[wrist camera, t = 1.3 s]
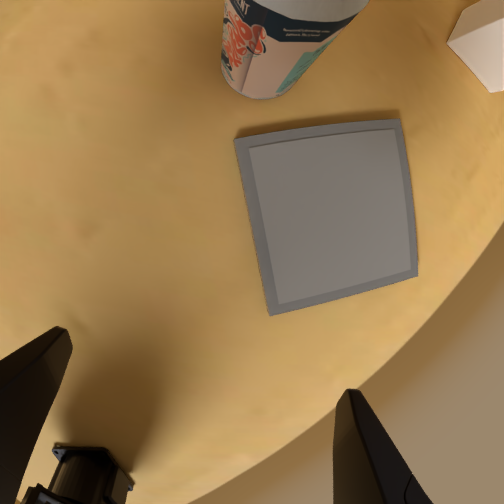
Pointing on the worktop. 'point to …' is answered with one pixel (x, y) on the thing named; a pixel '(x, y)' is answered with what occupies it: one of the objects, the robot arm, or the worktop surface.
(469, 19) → the milk
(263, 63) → the beer can
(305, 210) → the trivet
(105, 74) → the worktop surface
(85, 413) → the worktop surface
